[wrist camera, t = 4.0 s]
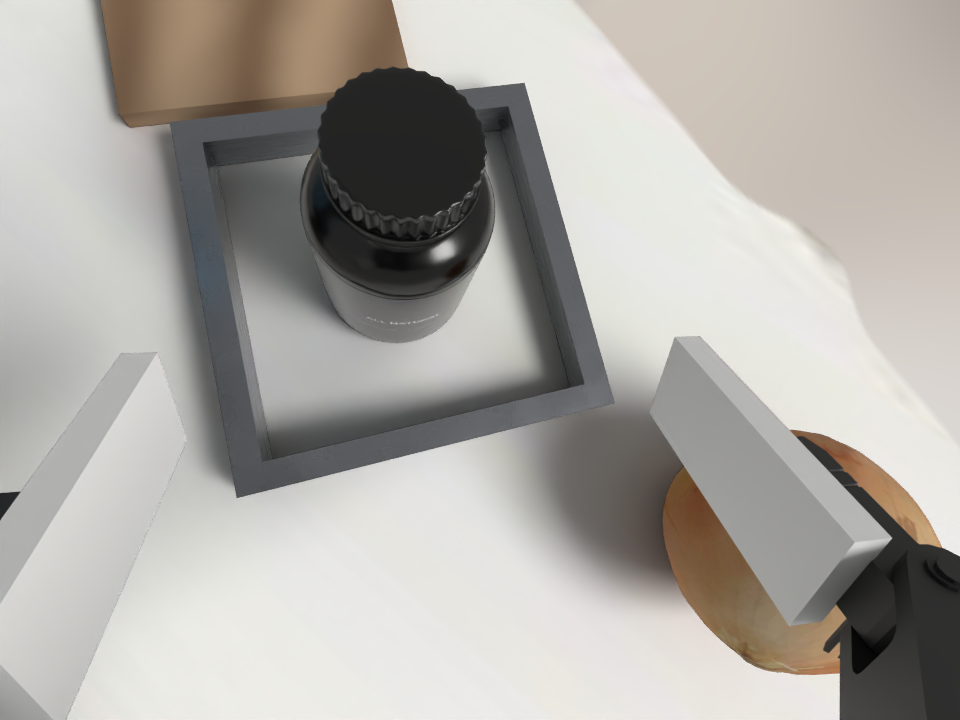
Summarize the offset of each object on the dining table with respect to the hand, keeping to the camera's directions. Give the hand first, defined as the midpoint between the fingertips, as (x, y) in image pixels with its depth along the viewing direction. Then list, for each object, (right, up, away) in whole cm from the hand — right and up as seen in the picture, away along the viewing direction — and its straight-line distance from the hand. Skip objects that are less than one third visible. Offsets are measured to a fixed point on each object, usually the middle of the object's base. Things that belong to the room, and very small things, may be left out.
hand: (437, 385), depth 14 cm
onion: (+13, -8, +13) cm, 20 cm away
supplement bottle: (-3, +5, +12) cm, 14 cm away
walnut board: (-11, +20, +14) cm, 27 cm away
